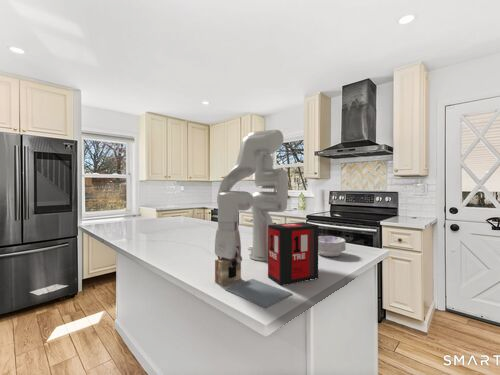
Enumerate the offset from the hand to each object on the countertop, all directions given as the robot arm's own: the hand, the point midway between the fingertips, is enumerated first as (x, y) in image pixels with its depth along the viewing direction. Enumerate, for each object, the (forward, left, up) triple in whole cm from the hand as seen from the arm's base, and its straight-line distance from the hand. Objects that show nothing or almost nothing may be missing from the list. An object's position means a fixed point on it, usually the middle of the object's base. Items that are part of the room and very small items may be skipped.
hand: (228, 275), depth 97 cm
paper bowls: (+9, +59, -2) cm, 60 cm away
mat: (+15, 0, -2) cm, 15 cm away
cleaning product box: (+16, +19, -2) cm, 24 cm away
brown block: (0, 0, -2) cm, 2 cm away
